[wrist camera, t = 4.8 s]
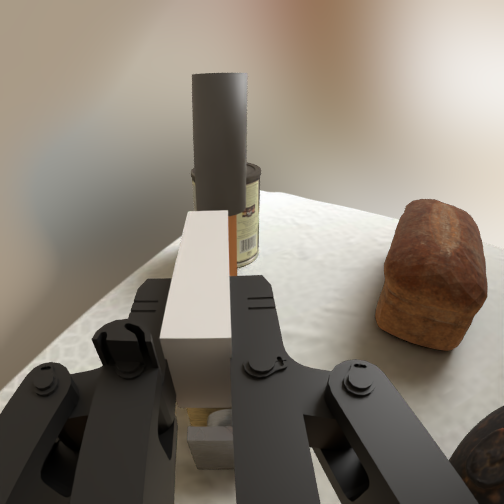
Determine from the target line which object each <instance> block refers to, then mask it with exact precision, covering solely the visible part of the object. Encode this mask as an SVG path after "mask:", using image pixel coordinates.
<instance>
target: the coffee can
mask: <svg viewBox="0 0 504 504" xmlns="http://www.w3.org/2000/svg"><path fill="white" fill-rule="evenodd" d="M260 175H261V168H260V167H258V166H257V165H254V164H251V163H247V162H246V209H245V210H244V211H243V212H242V213H239V214H237V215H236V216H237V267H242V266H244V265H247V264H249V263H251V262H253V261H254V260H255V259H256V258H257V256H258V254H259V249H258V247H259V200H260ZM191 177H192V185H193V201H194V211H197V206H196V189H195V168H193V169H192V170H191Z"/></svg>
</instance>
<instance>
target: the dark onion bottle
mask: <svg viewBox="0 0 504 504" xmlns="http://www.w3.org/2000/svg"><path fill="white" fill-rule="evenodd" d="M449 462H450V463H451V465H452V466H453V467H454V469H455V470H456V472H457V473H458V475H459V476H460V477H461V479H462V480H463V482H464V483H465V485H466V486H467V487H468V489H469V490H470V492H471V493H472V495H473V496H474V498H475V499H476V500H477V502H478V503H479V504H504V406H502V407H500V408H498V409H497V410H495V411H493V412H492V413H491V414H489V415H488V416H486V417H485V418H484V419H483V420H481V421H480V422H479V423H478V424H477V425H476V426H475V427H474V428H473V429H472V430H471V431H470V432H469V433H468V434H467V435H466V436H465V438H464V439H463V440H462V441H461V443H460V444H459V445H458V447H457V448H456V450H455V451H454V453H453V454H452V456H451V458H450V459H449Z"/></svg>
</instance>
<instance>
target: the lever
mask: <svg viewBox="0 0 504 504" xmlns="http://www.w3.org/2000/svg"><path fill="white" fill-rule="evenodd" d="M192 103H193V106H192V107H193V141H194V142H193V143H194V168H195V189H196V206H197V211H222V210H228V241H229V276H237V216H236V215H237V214H239V213H242V212H243V211H244V210H245V209H246V151H247V150H246V148H247V73H206V74H194V75H192Z"/></svg>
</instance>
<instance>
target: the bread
mask: <svg viewBox="0 0 504 504" xmlns="http://www.w3.org/2000/svg"><path fill="white" fill-rule="evenodd" d="M384 275H385V283H384V286H383V289H382V292H381V294H380V297H379V300H378V303H377V307H376V313H375V318H376V321H377V324H378V326H379V327H380V328H381V329H382V330H384V331H386V332H388V333H390V334H392V335H394V336H396V337H398V338H400V339H403V340H405V341H408V342H411V343H413V344H417V345H420V346H424V347H428V348H432V349H437V350H445V351H449V350H453V349H454V348H456V347H457V346H458V345H459V344H460V342H461V341H462V339H463V337H464V336H465V334H466V332H467V330H468V328H469V327H470V325H471V323H472V320H473V318H474V316H475V314H476V313H477V312H478V311H479V310H480V308H481V307H482V305H483V304H484V302H485V300H486V298H487V278H486V264H485V257H484V252H483V244H482V240H481V237H480V232H479V229H478V226H477V225H476V223H475V221H474V220H473V218H472V217H471V216H470V215H469V214H468V213H467V212H465V211H464V210H461V209H459V208H456V207H454V206H452V205H449V204H445V203H442V202H440V201H437V200H435V199H433V200H432V199H420V200H415V201H412V202H411V203H409V204H408V205H407V206H406V208H405V211H404V214H403V215H402V216H401V218H400V220H399V223H398V225H397V228H396V230H395V235H394V238H393V240H392V243H391V247H390V250H389V252H388V255H387V257H386V260H385V263H384Z"/></svg>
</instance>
